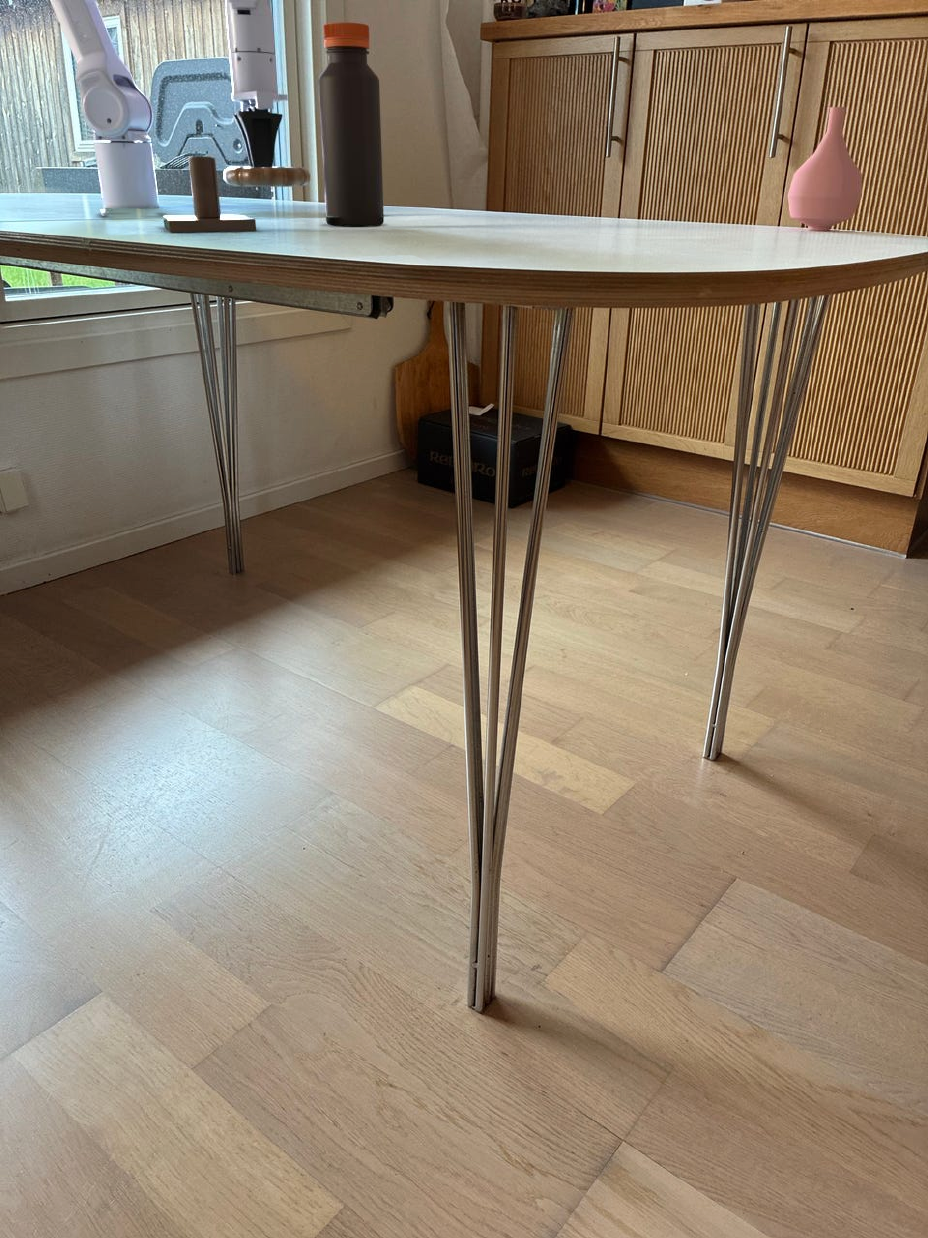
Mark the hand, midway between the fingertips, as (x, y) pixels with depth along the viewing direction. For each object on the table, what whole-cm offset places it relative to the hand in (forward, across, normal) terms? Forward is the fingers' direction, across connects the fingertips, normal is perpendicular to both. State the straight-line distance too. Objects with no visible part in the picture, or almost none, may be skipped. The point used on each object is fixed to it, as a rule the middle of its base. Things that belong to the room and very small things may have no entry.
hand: (261, 172), depth 125 cm
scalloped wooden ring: (0, -4, 0) cm, 4 cm away
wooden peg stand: (+5, -24, +10) cm, 27 cm away
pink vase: (+5, -46, -54) cm, 71 cm away
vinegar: (+5, -22, -7) cm, 24 cm away
